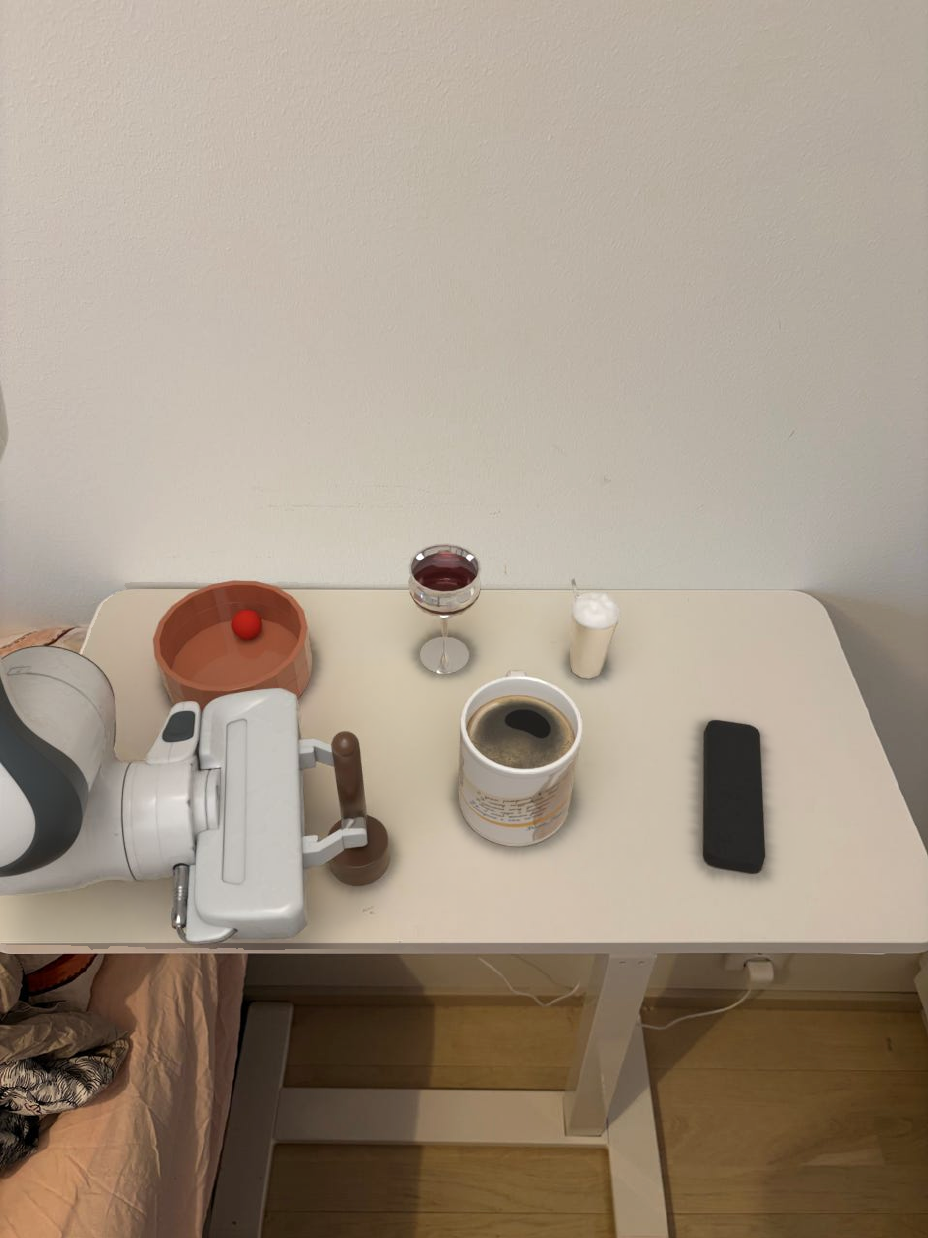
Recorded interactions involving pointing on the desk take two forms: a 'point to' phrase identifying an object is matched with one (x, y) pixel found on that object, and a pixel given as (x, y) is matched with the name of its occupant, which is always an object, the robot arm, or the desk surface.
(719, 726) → the remote control
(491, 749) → the mug
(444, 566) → the wineglass
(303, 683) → the bowl
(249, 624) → the tomato
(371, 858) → the brown plunger
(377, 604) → the desk surface
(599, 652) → the milkshake
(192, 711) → the robot arm
